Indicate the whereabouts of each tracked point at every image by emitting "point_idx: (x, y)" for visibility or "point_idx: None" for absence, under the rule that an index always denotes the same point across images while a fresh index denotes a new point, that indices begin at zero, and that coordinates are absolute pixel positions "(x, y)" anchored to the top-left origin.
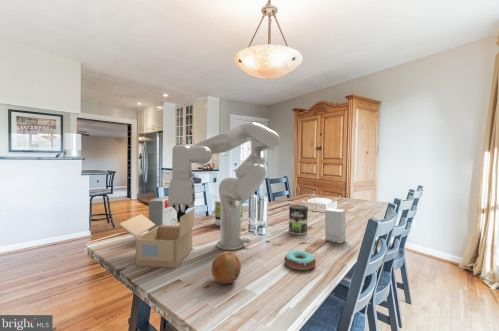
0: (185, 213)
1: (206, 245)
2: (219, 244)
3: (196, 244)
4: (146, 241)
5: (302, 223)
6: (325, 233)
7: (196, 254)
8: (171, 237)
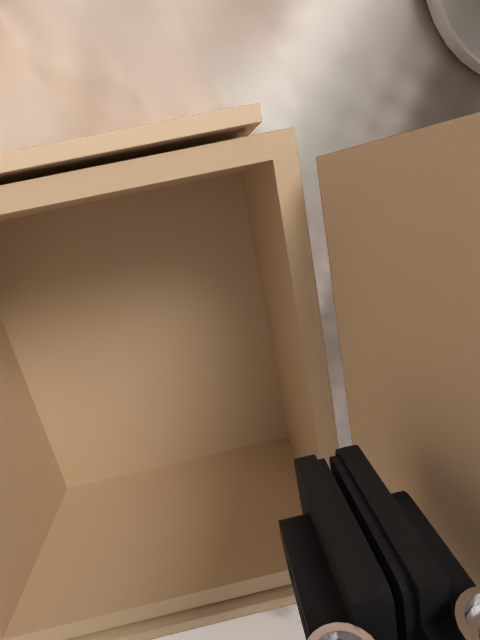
0: (457, 560)
1: (325, 15)
2: (464, 13)
3: (225, 16)
4: (106, 637)
5: None
6: None
7: (324, 234)
8: (51, 208)
